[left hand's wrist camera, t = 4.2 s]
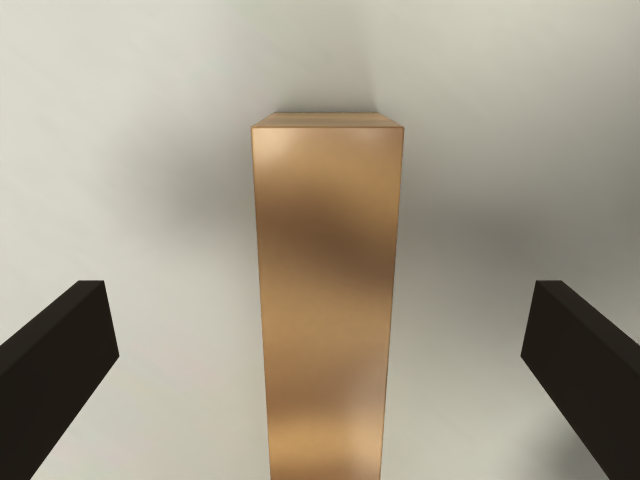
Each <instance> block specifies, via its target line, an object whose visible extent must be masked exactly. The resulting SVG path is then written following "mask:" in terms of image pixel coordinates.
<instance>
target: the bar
mask: <svg viewBox="0 0 640 480" xmlns="http://www.w3.org/2000/svg"><path fill="white" fill-rule="evenodd" d="M403 140H404V127H403V126H401V125H399V124H398V123H396V122H394V121H392V120H390V119H389V118H387V117H385V116H383V115H381V114H380V113H378V112H275V113H273V114H271V115H270V116H268V117H266V118H265V119H263V120H262V121H260V122H258V123H257V124H255V125H253V126H252V127H251V141H252V158H253V176H254V194H255V211H256V229H257V246H258V264H259V282H260V299H261V317H262V335H263V352H264V370H265V387H266V405H267V423H268V440H269V458H270V475H271V480H380V472H381V458H382V443H383V429H384V414H385V400H386V386H387V371H388V357H389V342H390V328H391V313H392V299H393V285H394V270H395V256H396V241H397V227H398V212H399V198H400V183H401V169H402V155H403Z"/></svg>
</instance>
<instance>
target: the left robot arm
mask: <svg viewBox="0 0 640 480" xmlns="http://www.w3.org/2000/svg"><path fill="white" fill-rule="evenodd" d="M118 358H119V351H118V346H117V342H116V337H115V332H114V327H113V322H112V317H111V313H110V308H109V303H108V298H107V293H106V288H105V283H104V281H77V282H76V283H75V284H74V285H73V286H71V287H70V288H69V289H68V290H67V291H65V292H64V293H63V294H62V295H61V296H59V297H58V298H57V299H56V300H55V301H53V302H52V303H51V304H50V305H49V306H47V307H46V308H45V309H44V310H43V311H41V312H40V313H39V314H38V315H37V316H35V317H34V318H33V319H32V320H31V321H29V322H28V323H27V324H26V325H25V326H23V327H22V328H21V329H20V330H19V331H17V332H16V333H15V334H14V335H13V336H11V337H10V338H9V339H8V340H7V341H5V342H4V343H3V344H2V345H1V346H0V480H30V479H31V478H32V476H33V475H34V474H35V472H36V471H37V469H38V468H39V467H40V465H41V464H42V462H43V461H44V460H45V458H46V457H47V456H48V454H49V453H50V451H51V450H52V449H53V447H54V446H55V445H56V443H57V442H58V440H59V439H60V438H61V436H62V435H63V434H64V432H65V431H66V429H67V428H68V427H69V425H70V424H71V422H72V421H73V420H74V418H75V417H76V416H77V414H78V413H79V411H80V410H81V409H82V407H83V406H84V405H85V403H86V402H87V400H88V399H89V398H90V396H91V395H92V393H93V392H94V391H95V389H96V388H97V387H98V385H99V384H100V382H101V381H102V380H103V378H104V377H105V376H106V374H107V373H108V371H109V370H110V369H111V367H112V366H113V365H114V363H115V362H116V360H117V359H118ZM521 358H522V359H523V360H524V362H525V363H526V365H527V366H528V367H529V369H530V370H531V371H532V373H533V374H534V376H535V377H536V378H537V380H538V381H539V382H540V384H541V385H542V387H543V388H544V389H545V391H546V392H547V393H548V395H549V396H550V398H551V399H552V400H553V402H554V403H555V405H556V406H557V407H558V409H559V410H560V411H561V413H562V414H563V416H564V417H565V418H566V420H567V421H568V422H569V424H570V425H571V427H572V428H573V429H574V431H575V432H576V434H577V435H578V436H579V438H580V439H581V440H582V442H583V443H584V445H585V446H586V447H587V449H588V450H589V451H590V453H591V454H592V456H593V457H594V458H595V460H596V461H597V463H598V464H599V465H600V467H601V468H602V469H603V471H604V472H605V474H606V475H607V476H608V478H609V479H610V480H640V346H639V345H638V344H637V343H636V342H635V341H633V340H632V339H631V338H630V337H629V336H627V335H626V334H625V333H624V332H623V331H621V330H620V329H619V328H618V327H617V326H615V325H614V324H613V323H612V322H611V321H609V320H608V319H607V318H606V317H605V316H603V315H602V314H601V313H600V312H599V311H597V310H596V309H595V308H594V307H593V306H591V305H590V304H589V303H588V302H587V301H585V300H584V299H583V298H582V297H581V296H579V295H578V294H577V293H576V292H575V291H573V290H572V289H571V288H570V287H569V286H567V285H566V284H565V283H564V282H563V281H536V283H535V288H534V293H533V298H532V303H531V308H530V313H529V317H528V322H527V327H526V332H525V337H524V342H523V346H522V351H521Z"/></svg>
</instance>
